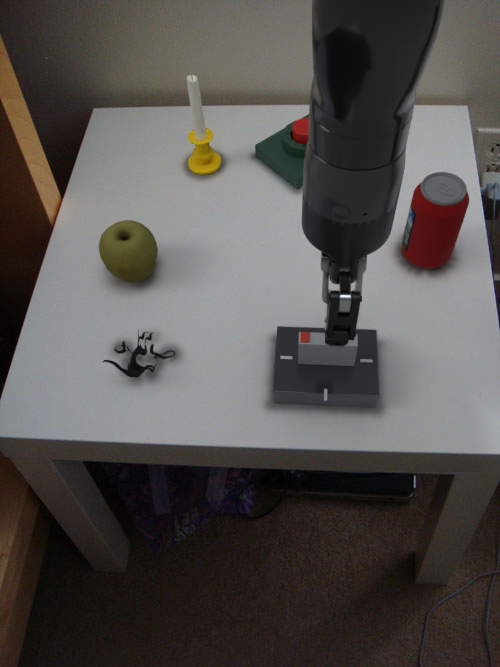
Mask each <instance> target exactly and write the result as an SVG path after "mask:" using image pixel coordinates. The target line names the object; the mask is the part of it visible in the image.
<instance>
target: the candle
mask: <svg viewBox="0 0 500 667" xmlns="http://www.w3.org/2000/svg"><path fill="white" fill-rule="evenodd" d="M186 83H187V84H186V85H187V92H188V99H189V105H190V111H191V118H192V124H193V125H192V126H193V129H192V130H191V131H189V132H188V135H187V139H188V142H190V143H191V144H193V145H194V149H193V150H192V154H191V156H190V157H189V159H188V160H187V166H188V168H189V170H190V171H191V172H192V173H194V174H196V175H200V176H205V175H210V174H213V173H215V172H216V171H218V170H220V168H221V166H222V157H221V155H220V154H219V153H218V152H216V151H215V150H214V147H212V146H211V145H210V142H211V141H212V140H213V139H214V137H215V136H214V134H215V133H214V132H213V130H211V129H210V128H208V127H206V123H205V122H206V121H205V116H204V109H203V103H202V102H203V101H202V96H201V89H200V85H199V79H198V77H197V76H196V75H194V74H192V73H191V74H189V75H187V76H186Z"/></svg>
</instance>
